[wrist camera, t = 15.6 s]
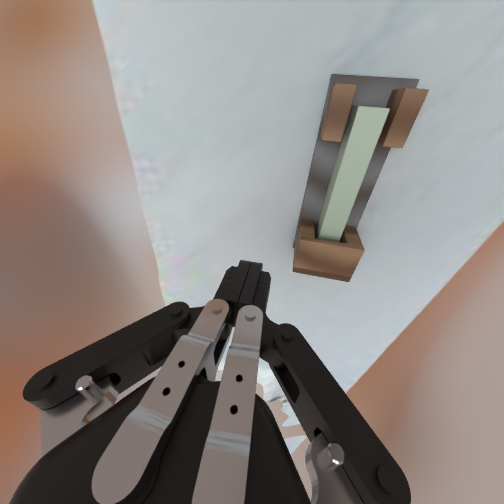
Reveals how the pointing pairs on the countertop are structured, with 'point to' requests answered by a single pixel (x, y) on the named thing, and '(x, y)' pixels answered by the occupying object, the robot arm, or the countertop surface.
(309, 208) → the holder
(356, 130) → the slat
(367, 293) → the countertop surface
